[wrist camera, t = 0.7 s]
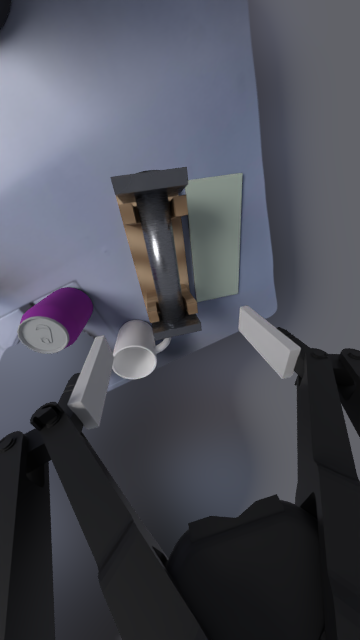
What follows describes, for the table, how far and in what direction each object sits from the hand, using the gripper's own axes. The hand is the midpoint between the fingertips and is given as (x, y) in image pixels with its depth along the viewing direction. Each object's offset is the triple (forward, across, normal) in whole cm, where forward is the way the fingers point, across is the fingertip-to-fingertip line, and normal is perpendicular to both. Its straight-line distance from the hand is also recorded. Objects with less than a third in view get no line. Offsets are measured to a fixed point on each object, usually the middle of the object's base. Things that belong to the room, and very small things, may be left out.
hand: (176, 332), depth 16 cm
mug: (+22, -6, -13) cm, 26 cm away
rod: (+16, +1, +4) cm, 16 cm away
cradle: (+22, +1, +3) cm, 22 cm away
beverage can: (+22, -18, -3) cm, 28 cm away
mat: (+22, +12, +4) cm, 25 cm away
